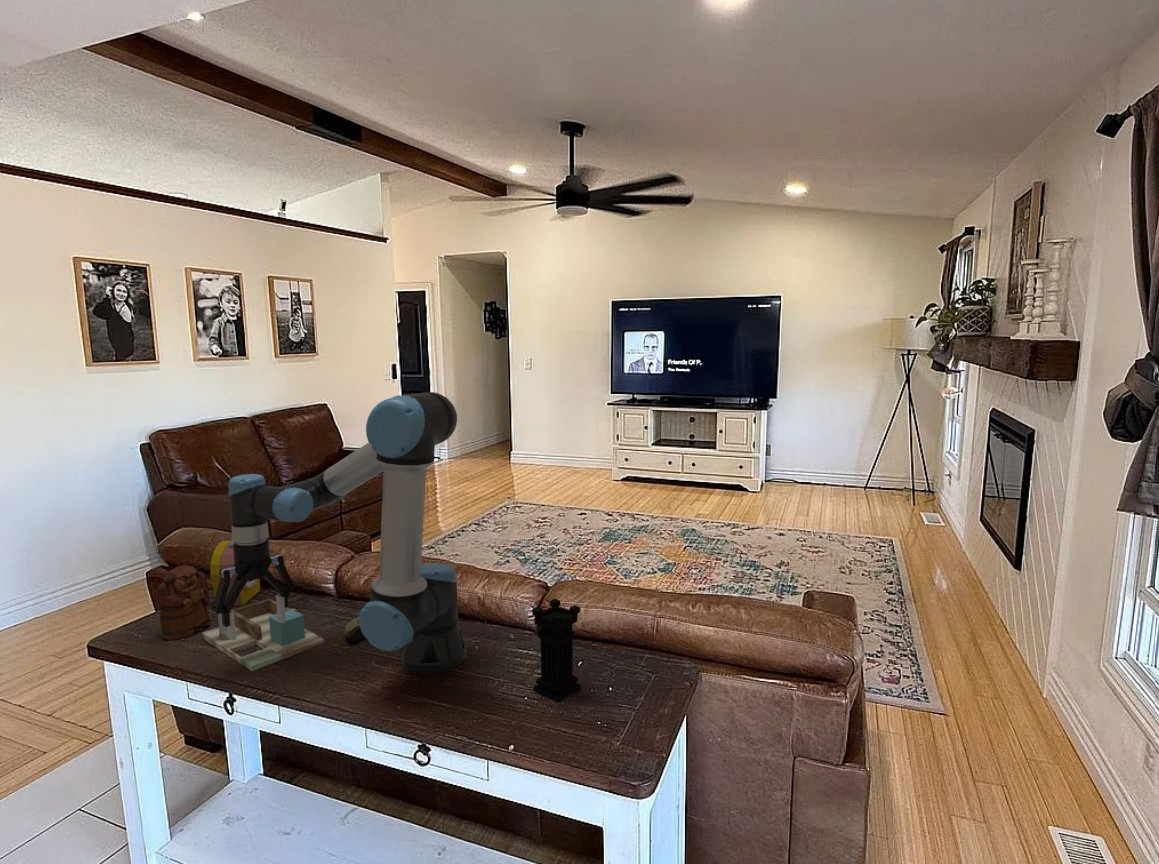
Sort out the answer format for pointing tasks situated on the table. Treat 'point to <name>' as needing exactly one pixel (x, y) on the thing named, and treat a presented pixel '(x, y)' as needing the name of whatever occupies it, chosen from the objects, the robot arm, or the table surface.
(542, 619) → the chess piece
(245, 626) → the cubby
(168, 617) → the wooden figurine
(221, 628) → the grey knob
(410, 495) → the robot arm
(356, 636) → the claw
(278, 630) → the block
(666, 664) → the table surface
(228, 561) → the alarm clock
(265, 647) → the board
